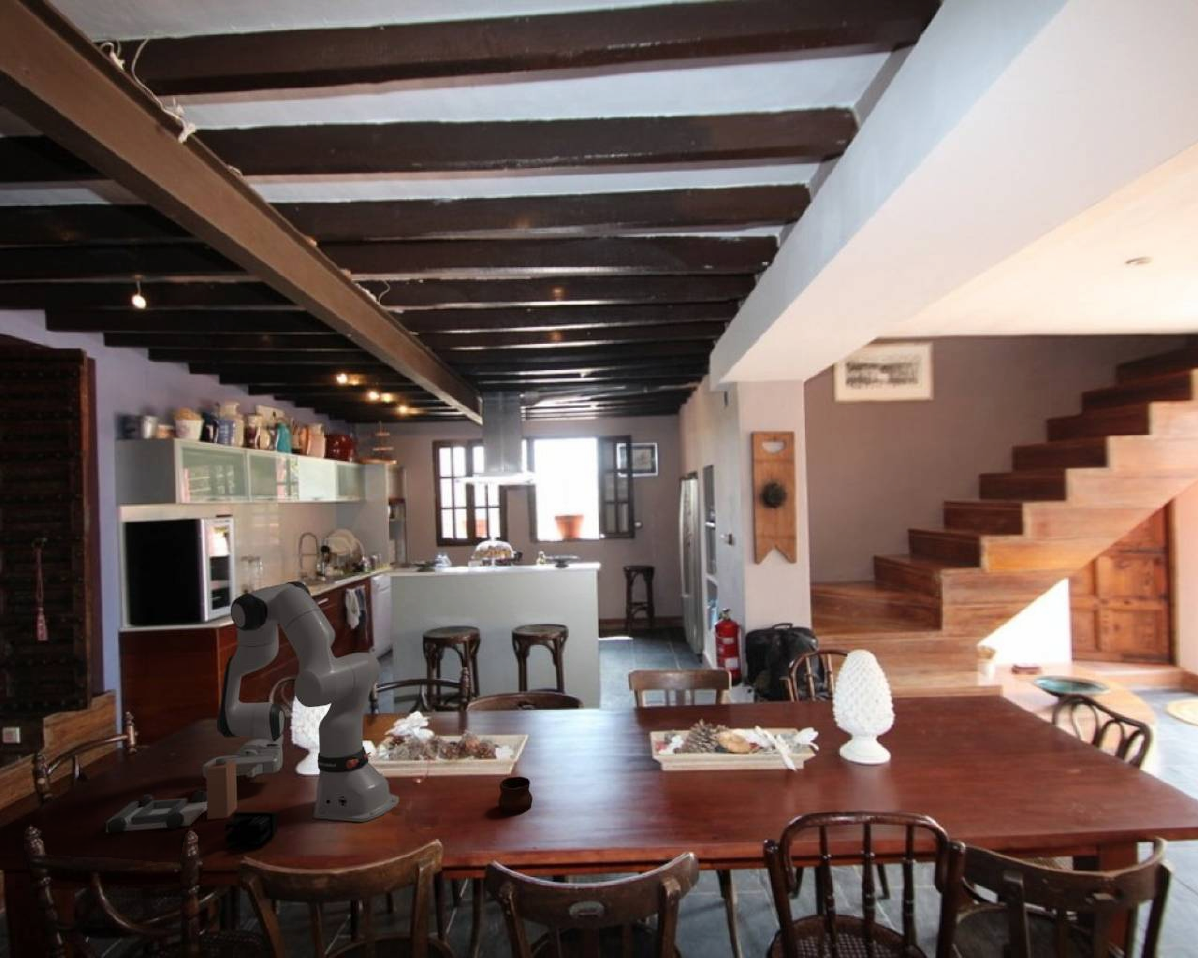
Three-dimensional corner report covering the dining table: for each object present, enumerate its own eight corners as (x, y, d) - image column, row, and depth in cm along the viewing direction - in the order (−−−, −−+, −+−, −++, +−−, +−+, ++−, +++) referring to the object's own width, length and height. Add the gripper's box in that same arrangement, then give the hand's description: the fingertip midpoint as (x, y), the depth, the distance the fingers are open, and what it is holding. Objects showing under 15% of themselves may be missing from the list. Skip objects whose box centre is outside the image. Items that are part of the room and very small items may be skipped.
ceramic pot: (475, 801, 186) (474, 774, 186) (538, 789, 193) (538, 764, 193) (489, 831, 170) (488, 802, 170) (558, 817, 176) (558, 789, 176)
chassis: (213, 802, 192) (212, 789, 192) (186, 828, 176) (185, 814, 177) (136, 808, 190) (136, 795, 190) (102, 835, 174) (101, 820, 174)
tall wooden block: (227, 817, 182) (226, 762, 182) (207, 819, 181) (206, 764, 182) (237, 807, 188) (235, 754, 188) (217, 809, 187) (216, 755, 188)
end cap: (279, 834, 171) (279, 807, 171) (263, 849, 164) (262, 820, 164) (241, 834, 172) (240, 807, 172) (223, 849, 165) (222, 820, 165)
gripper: (214, 749, 204) (191, 767, 190) (287, 743, 206) (269, 761, 192) (215, 771, 203) (192, 790, 190) (287, 765, 205) (270, 784, 192)
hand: (231, 775), depth 191 cm, fingers open, 8 cm apart
